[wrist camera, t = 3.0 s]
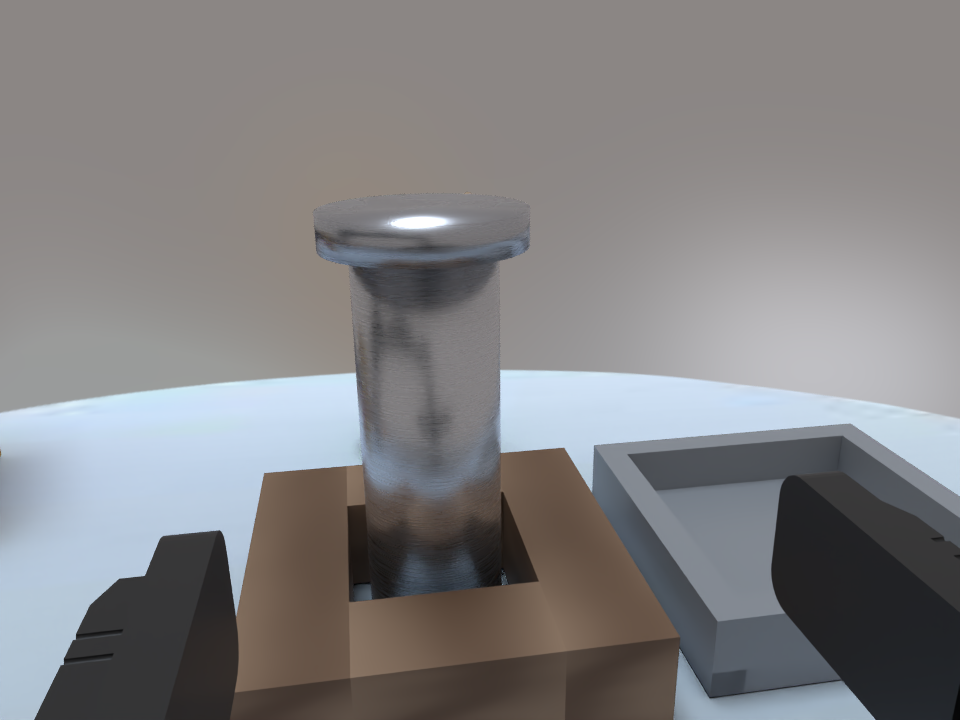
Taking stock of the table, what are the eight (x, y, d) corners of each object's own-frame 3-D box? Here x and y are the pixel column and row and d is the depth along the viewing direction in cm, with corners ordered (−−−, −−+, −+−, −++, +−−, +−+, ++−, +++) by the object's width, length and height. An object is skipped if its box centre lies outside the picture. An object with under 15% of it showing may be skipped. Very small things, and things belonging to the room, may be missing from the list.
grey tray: (710, 697, 22) (717, 621, 21) (591, 501, 32) (594, 445, 31) (1060, 649, 24) (1080, 577, 23) (842, 477, 34) (850, 423, 33)
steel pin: (349, 699, 22) (309, 230, 18) (347, 581, 27) (316, 197, 23) (546, 674, 23) (553, 220, 19) (507, 564, 28) (506, 190, 24)
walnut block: (236, 794, 19) (221, 694, 18) (272, 546, 29) (264, 473, 28) (672, 732, 21) (680, 637, 20) (562, 517, 31) (564, 447, 30)
